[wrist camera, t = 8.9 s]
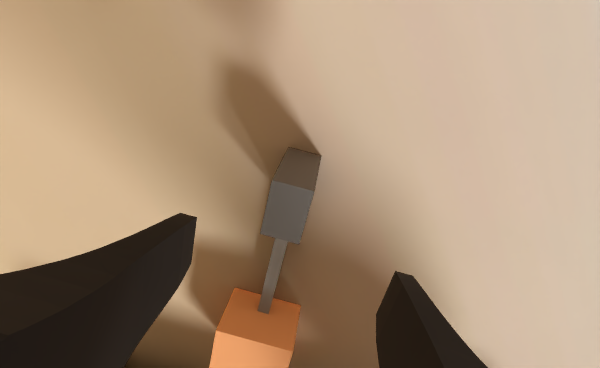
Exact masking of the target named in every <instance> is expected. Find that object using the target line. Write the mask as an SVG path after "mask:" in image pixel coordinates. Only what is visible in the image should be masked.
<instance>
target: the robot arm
mask: <svg viewBox="0 0 600 368" xmlns="http://www.w3.org/2000/svg"><path fill="white" fill-rule="evenodd" d="M196 220H197V217H193V216H190V215H186V214H182V213H179V214H177V215H174V216H172V217H170V218H168V219H166V220H164V221H162V222H159V223H157V224H155V225H153V226H151V227H149V228H147V229H144V230H142V231H140V232H138V233H136V234H133V235H131V236H129V237H126V238H124V239H121V240H119V241H116V242H114V243H111V244H109V245H106V246H104V247H101V248H99V249H96V250H93V251H90V252H87V253H84V254H81V255H78V256H74V257H71V258H68V259H64V260H61V261H57V262H53V263H49V264H45V265H41V266H37V267H33V268H29V269H24V270H20V271H15V272H10V273H5V274H0V368H124V366H125V364H126V363H127V361H128V359H129V357H130V356H131V354H132V352H133V351H134V349H135V348H136V346H137V345H138V343H139V342H140V340H141V339H142V338H143V336H144V335H145V333H146V332H147V331H148V329H149V328H150V326H151V325H152V324H153V322H154V321H155V319H156V318H157V317H158V315H159V314H160V312H161V311H162V310H163V308H164V307H165V306H166V304H167V303H168V301H169V300H170V298H171V297H172V296H173V294H174V293H175V291H176V290H177V289H178V287H179V285H180V283H181V282H182V280H183V278H184V276H185V274H186V272H187V270H188V268H189V267H190V265H191V260H192V252H193V244H194V236H195V228H196ZM376 343H377V352H378V360H379V368H488V367H487V366H486V365H485V364H484V363H483V362H482V361H481V360H480V359H479V358H478V357H477V356H476V355H475V354H474V353H473V351H472V350H471V349H470V348H469V347H468V346H467V345H466V343H465V342H464V341H463V340H462V339H461V338H460V336H459V335H458V334H457V333H456V332H455V330H454V329H453V328H452V327H451V325H450V324H449V323H448V322H447V320H446V319H445V318H444V316H443V315H442V314H441V313H440V311H439V310H438V309H437V307H436V306H435V305H434V303H433V302H432V301H431V299H430V298H429V297H428V295H427V294H426V293H425V291H424V290H423V289H422V287H421V286H420V285H419V283H418V282H417V281H416V279H415V278H414V277H413V276H412V275H408V274H404V273H400V272H397V271H395V273H394V275H393V278H392V280H391V282H390V284H389V287H388V289H387V291H386V293H385V296H384V298H383V300H382V303H381V305H380V307H379V309H378V312H377V314H376Z"/></svg>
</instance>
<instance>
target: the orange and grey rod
mask: <svg viewBox="0 0 600 368" xmlns="http://www.w3.org/2000/svg"><path fill="white" fill-rule="evenodd" d="M320 160H321V156H320V155H316V154H313V153H309V152H305V151H301V150H298V149H294V148H290V147H288V149H287V151H286V153H285V155H284V157H283V159H282V161H281V163H280V165H279V167H278V169H277V171H276V173H275V175H274V177H273V179H272V182H271V187H270V191H269V196H268V200H267V205H266V209H265V214H264V218H263V223H262V227H261V232H260V234H262V235H266V236H270V237H274V238H275V241H274V245H273V249H272V254H271V258H270V262H269V266H268V270H267V274H266V278H265V282H264V286H263V290H262V294H257V293H253V292H250V291H246V290H242V289H239V288H234V290H233V293H232V295H231V297H230V300H229V302H228V304H227V306H226V309H225V311H224V313H223V315H222V318H221V320H220V322H219V325H218V327H217V329H216V333H215V338H214V344H213V349H212V355H211V360H210V366H209V368H288V366H289V363H290V360H291V357H292V354H293V350H294V344H295V338H296V332H297V326H298V320H299V314H300V308H301V305H297V304H294V303H290V302H286V301H283V300H279V299H275V298H273V296H274V292H275V289H276V285H277V281H278V277H279V273H280V270H281V266H282V262H283V258H284V255H285V251H286V247H287V243H288V242H292V243H296V244H300V240H301V237H302V233H303V229H304V226H305V222H306V219H307V215H308V212H309V208H310V205H311V201H312V198H313V194H314V190H315V185H316V180H317V175H318V170H319V165H320Z"/></svg>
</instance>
